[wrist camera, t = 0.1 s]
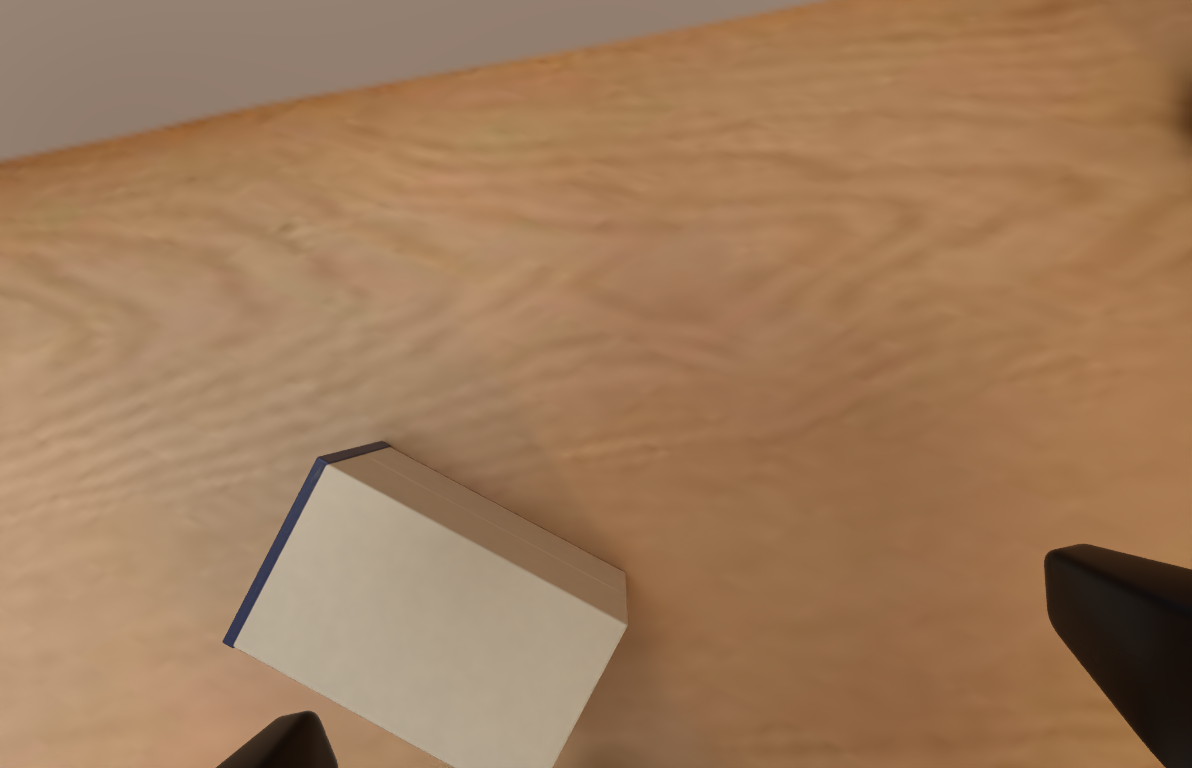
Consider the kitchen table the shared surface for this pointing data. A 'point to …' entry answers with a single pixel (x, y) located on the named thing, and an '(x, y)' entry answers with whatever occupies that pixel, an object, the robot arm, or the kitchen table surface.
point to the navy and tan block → (433, 611)
